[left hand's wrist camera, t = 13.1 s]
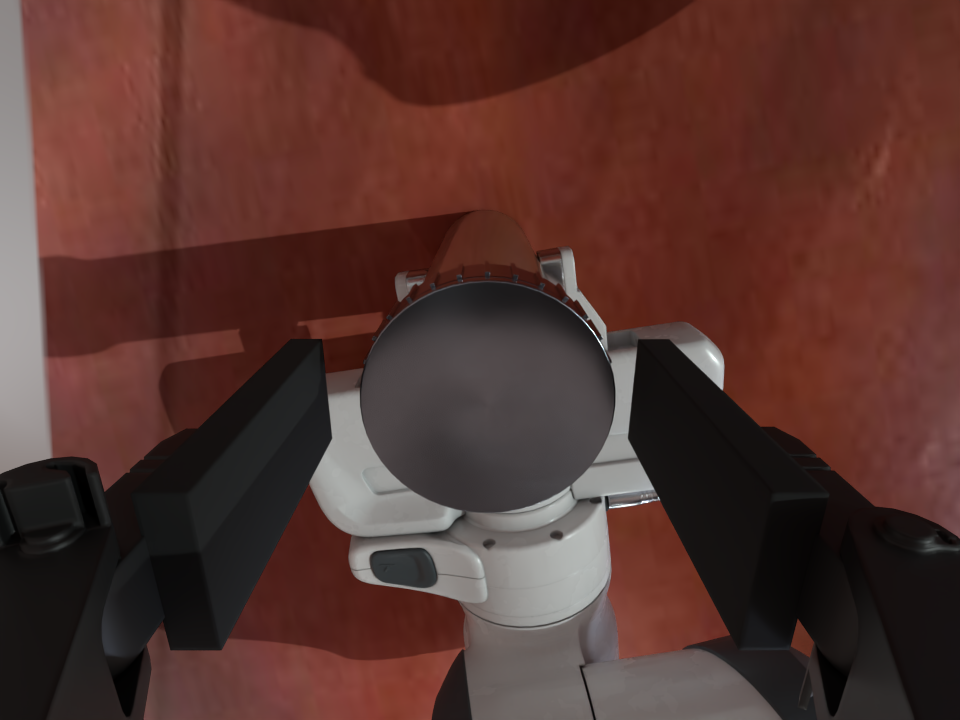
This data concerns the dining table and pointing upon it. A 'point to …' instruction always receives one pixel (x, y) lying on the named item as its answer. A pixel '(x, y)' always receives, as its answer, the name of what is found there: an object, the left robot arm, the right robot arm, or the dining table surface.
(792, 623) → the left robot arm
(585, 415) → the lid
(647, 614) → the dining table surface
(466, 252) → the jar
